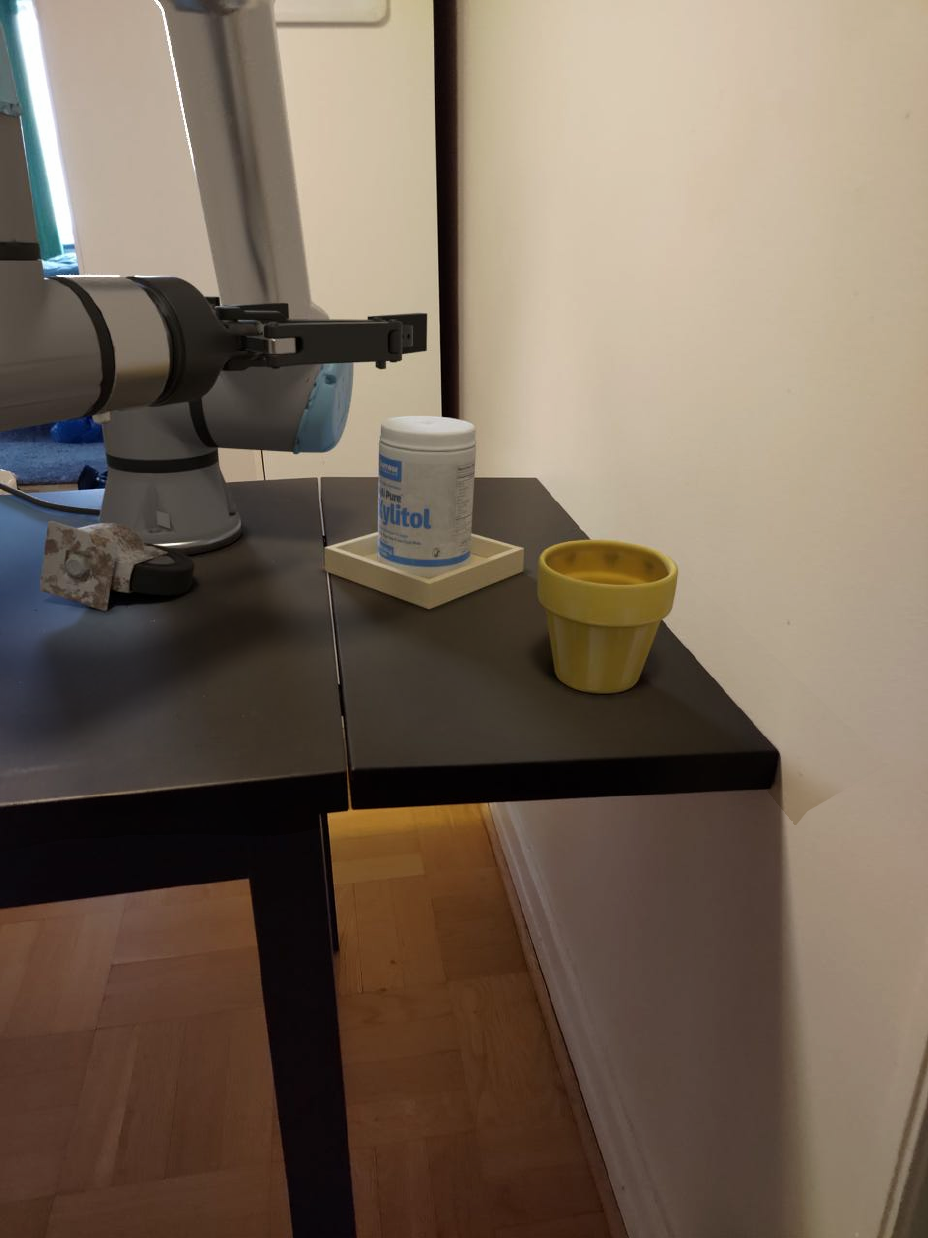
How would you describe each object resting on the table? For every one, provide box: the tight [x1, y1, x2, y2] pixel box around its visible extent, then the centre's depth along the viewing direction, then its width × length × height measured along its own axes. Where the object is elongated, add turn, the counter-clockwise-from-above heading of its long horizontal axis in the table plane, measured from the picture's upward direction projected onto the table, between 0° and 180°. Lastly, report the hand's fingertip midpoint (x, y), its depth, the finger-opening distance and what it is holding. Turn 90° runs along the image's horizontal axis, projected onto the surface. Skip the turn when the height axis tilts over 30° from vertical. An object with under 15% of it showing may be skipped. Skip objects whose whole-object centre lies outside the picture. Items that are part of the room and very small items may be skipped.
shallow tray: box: [324, 531, 525, 610], centre depth 88 cm, size 15×15×3 cm
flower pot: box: [536, 539, 679, 695], centre depth 66 cm, size 10×10×10 cm
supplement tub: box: [377, 415, 477, 579], centre depth 85 cm, size 10×10×15 cm
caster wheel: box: [39, 520, 196, 612], centre depth 80 cm, size 7×11×10 cm
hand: (351, 325), depth 68 cm, fingers open, 13 cm apart
